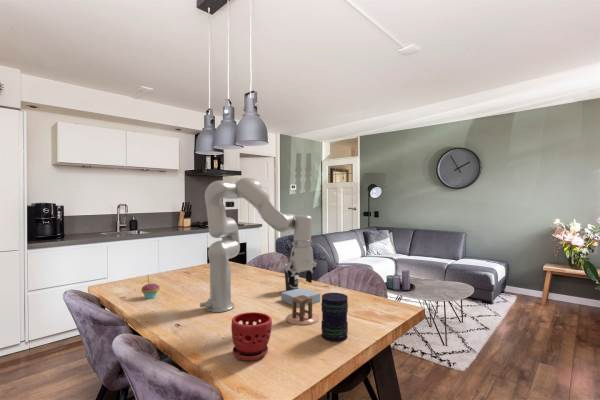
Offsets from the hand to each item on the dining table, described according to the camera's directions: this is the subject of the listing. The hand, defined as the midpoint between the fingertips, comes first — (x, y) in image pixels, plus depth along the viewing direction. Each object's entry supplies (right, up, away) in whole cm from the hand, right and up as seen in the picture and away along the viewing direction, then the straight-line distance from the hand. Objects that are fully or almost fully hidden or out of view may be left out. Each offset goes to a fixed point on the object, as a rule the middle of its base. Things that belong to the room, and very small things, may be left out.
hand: (300, 283), depth 136 cm
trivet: (+1, -15, 0) cm, 15 cm away
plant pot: (-16, -15, -32) cm, 38 cm away
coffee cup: (-5, -15, +41) cm, 44 cm away
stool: (+1, -15, 0) cm, 15 cm away
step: (0, -15, +24) cm, 28 cm away
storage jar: (+13, -15, -18) cm, 27 cm away
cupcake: (-78, -15, +29) cm, 85 cm away
